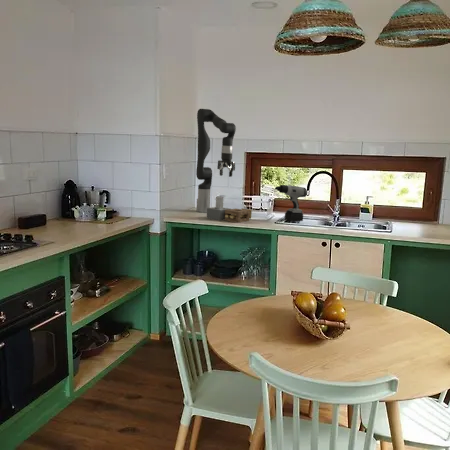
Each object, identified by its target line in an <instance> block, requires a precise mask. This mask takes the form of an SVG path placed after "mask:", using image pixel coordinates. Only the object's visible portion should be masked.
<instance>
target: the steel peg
mask: <svg viewBox="0 0 450 450" xmlns="http://www.w3.org/2000/svg"><path fill="white" fill-rule="evenodd" d="M215 207H216V209H223V208H224V196H215Z"/></svg>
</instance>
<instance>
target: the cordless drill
mask: <svg viewBox="0 0 450 450" xmlns="http://www.w3.org/2000/svg"><path fill="white" fill-rule="evenodd" d="M274 189H275V190H277V191H278V192H279V193H282V194H284V195H286V196H289V200H290V201H291V202H292V205H293V207H292V208H290V207H289V208H288V209H287V210H286V211H285V213H284V220H285V221H287V222H303V221H304V214H303V209H300V203H299V201H298V198H306V197H307V194H308V192H307V191H308V190H307V188H306V187H303V186H298V185H297V186H296V185H291V184H290V185H289V184H288V185H287V184H280V185H279V186H275V188H274Z"/></svg>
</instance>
